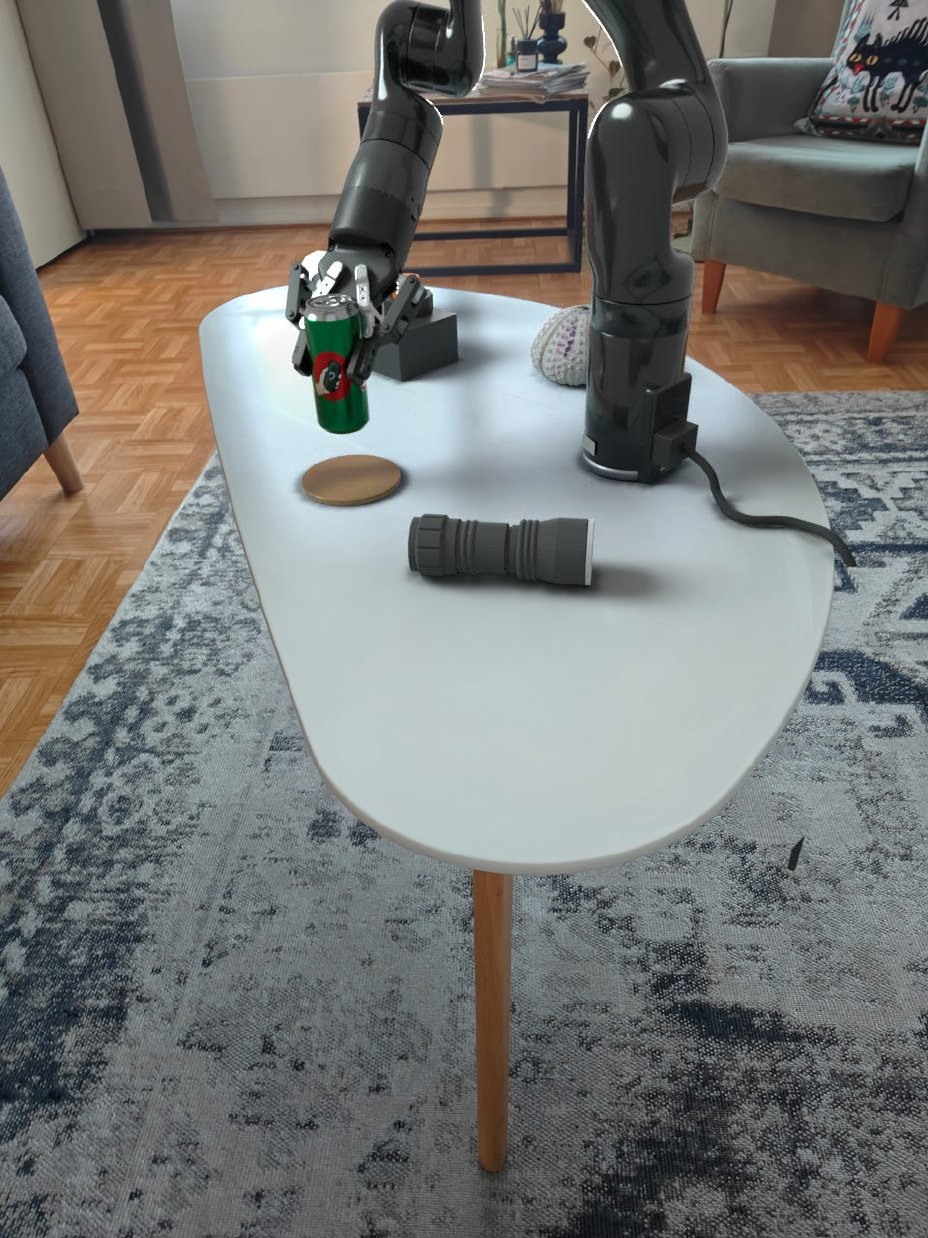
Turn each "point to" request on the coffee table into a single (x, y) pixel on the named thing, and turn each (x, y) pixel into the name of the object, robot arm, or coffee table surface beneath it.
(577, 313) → the sea urchin shell
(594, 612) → the coffee table surface
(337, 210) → the robot arm
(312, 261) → the geometric ball
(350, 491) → the coaster
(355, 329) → the soda can
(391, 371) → the push button base
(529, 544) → the flashlight
